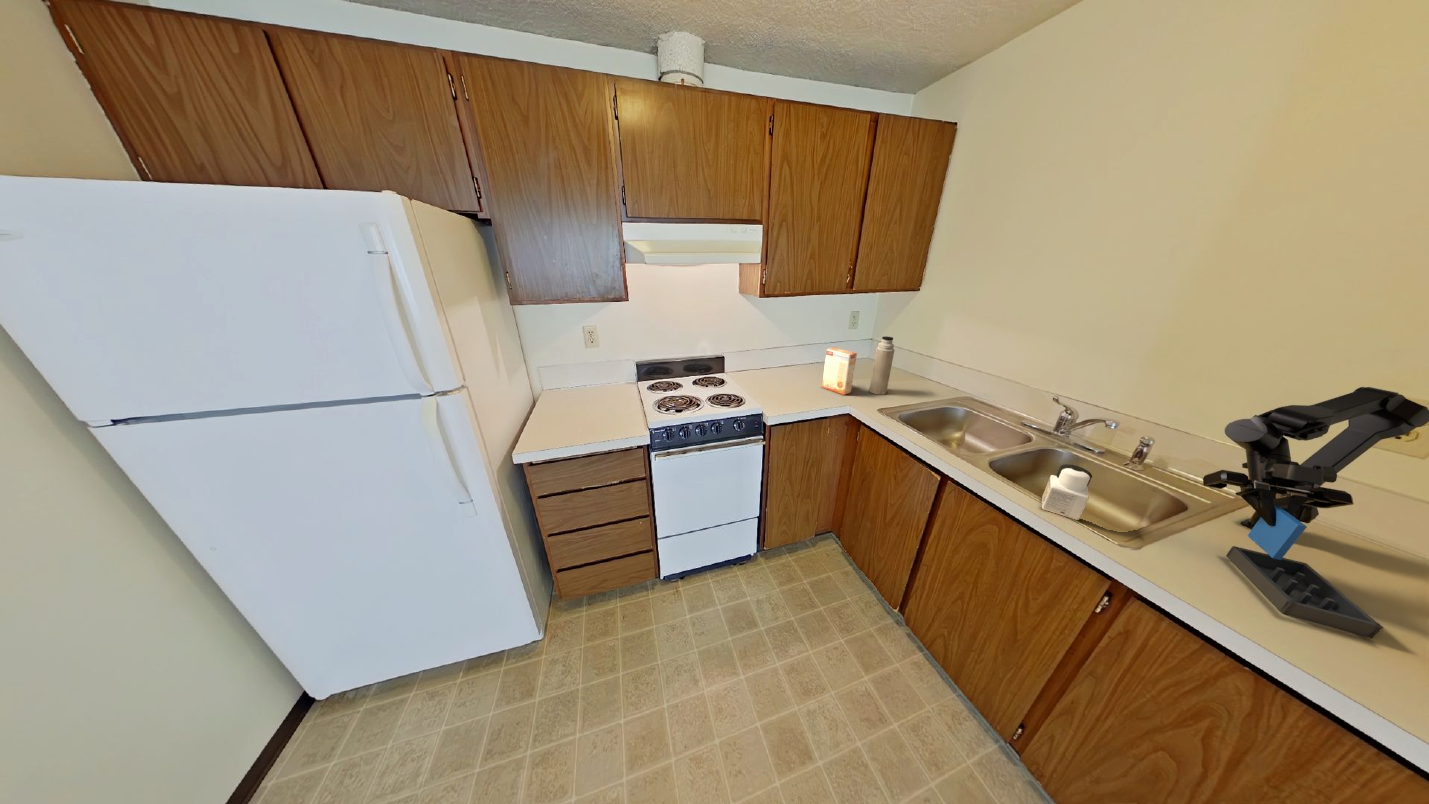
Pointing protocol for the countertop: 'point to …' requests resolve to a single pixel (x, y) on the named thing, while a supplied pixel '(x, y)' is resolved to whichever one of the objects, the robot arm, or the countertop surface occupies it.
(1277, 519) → the blue rectangular block
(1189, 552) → the countertop surface
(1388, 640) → the countertop surface
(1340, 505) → the robot arm
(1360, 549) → the countertop surface
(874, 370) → the thermos bottle
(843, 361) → the cracker box
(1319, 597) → the dish rack
